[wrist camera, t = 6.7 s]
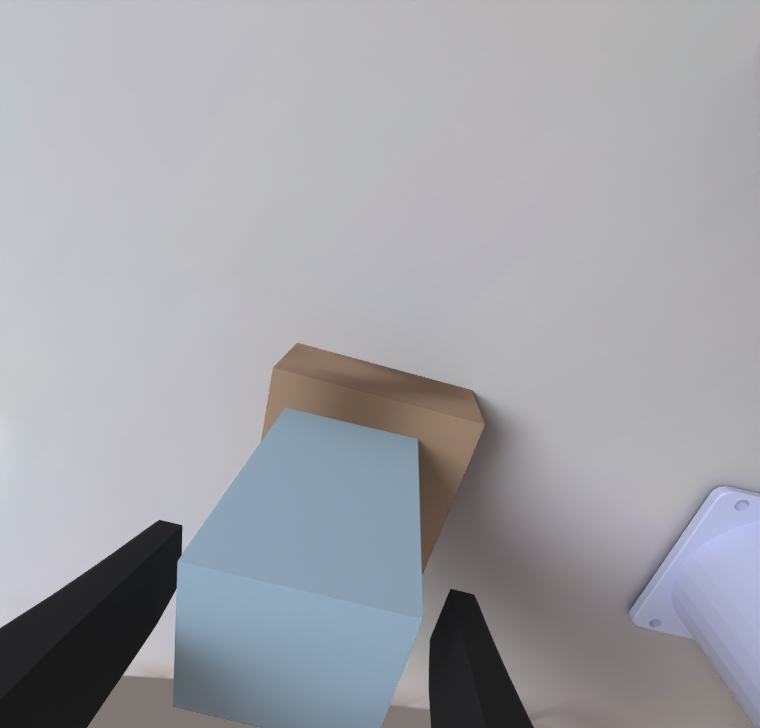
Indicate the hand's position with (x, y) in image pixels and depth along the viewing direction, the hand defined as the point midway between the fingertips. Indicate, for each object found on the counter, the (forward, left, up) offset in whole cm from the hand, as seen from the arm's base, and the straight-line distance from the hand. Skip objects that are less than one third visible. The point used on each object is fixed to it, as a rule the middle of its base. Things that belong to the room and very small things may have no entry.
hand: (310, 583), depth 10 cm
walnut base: (-1, -1, -7) cm, 7 cm away
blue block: (0, -1, -4) cm, 4 cm away
